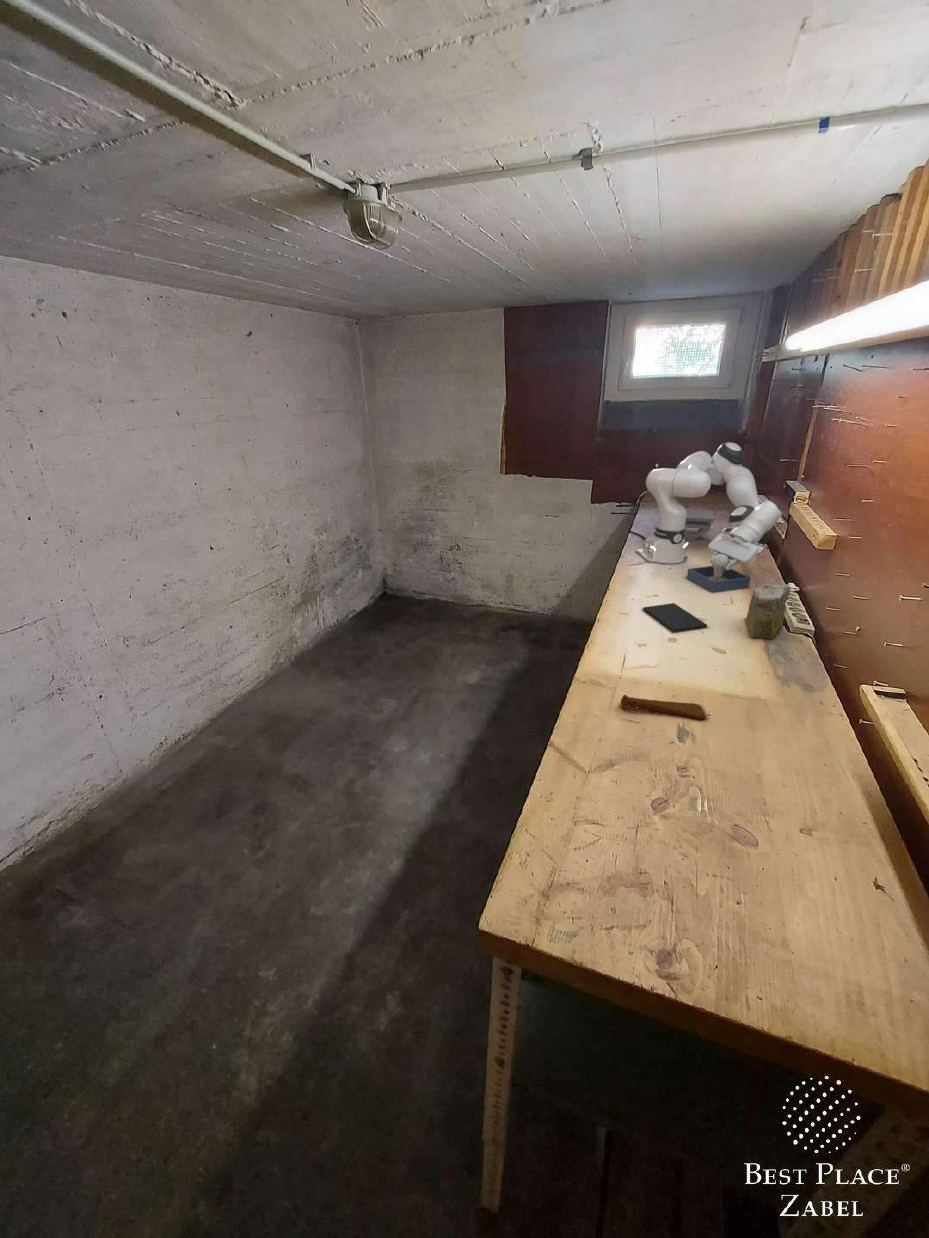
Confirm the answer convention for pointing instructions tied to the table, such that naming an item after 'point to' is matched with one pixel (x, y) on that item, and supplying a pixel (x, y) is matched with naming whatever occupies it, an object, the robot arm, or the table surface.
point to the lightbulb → (719, 565)
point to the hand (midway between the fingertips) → (718, 565)
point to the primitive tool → (664, 706)
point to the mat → (674, 617)
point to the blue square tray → (735, 581)
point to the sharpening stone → (697, 525)
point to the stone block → (767, 610)
